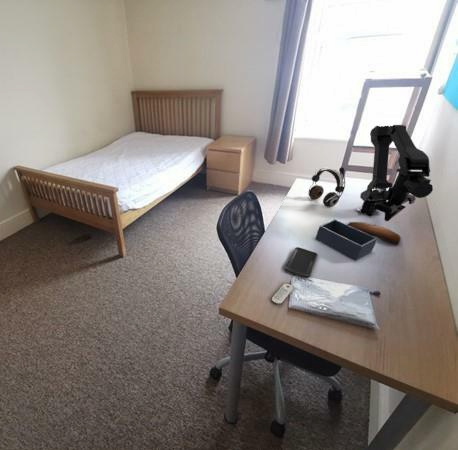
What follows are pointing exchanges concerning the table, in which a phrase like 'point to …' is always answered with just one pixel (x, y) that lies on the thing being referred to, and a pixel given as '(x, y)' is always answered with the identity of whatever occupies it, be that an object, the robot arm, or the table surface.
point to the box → (346, 239)
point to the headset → (318, 190)
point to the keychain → (282, 293)
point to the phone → (301, 262)
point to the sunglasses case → (376, 231)
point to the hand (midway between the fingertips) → (386, 220)
